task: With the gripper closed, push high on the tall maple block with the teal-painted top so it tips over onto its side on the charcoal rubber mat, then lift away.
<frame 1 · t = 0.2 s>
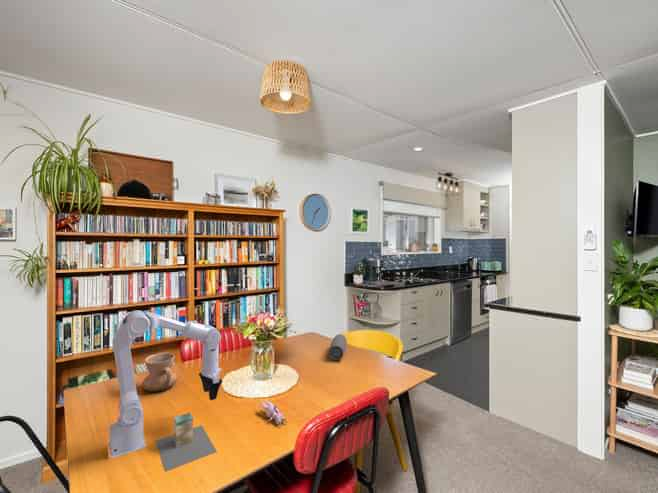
hand: (209, 395, 118), 10 cm above the table, fingers open, 7 cm apart
bluetooth speaker: (338, 355, 190), on the table
maple block: (183, 441, 105), resting on rubber mat
rabbit figure: (273, 418, 121), on the table
ceramic jug: (160, 388, 145), on the table
rubber mat: (185, 447, 103), on the table
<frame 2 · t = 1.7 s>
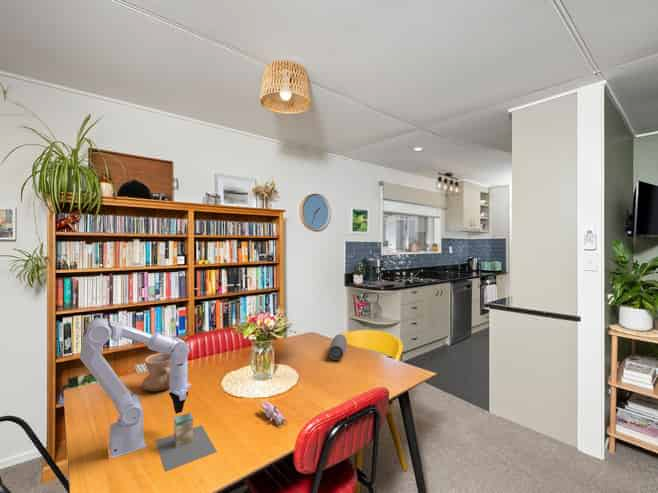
hand: (178, 412, 112), 7 cm above the table, fingers closed
nothing on the table moved.
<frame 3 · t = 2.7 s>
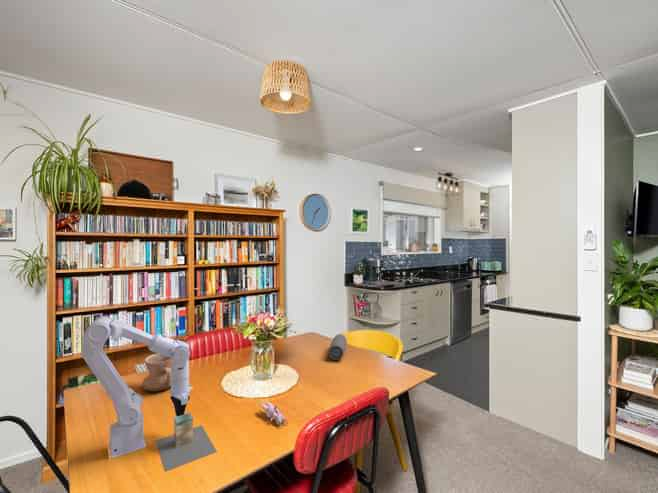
hand: (179, 416, 110), 6 cm above the table, fingers closed
nothing on the table moved.
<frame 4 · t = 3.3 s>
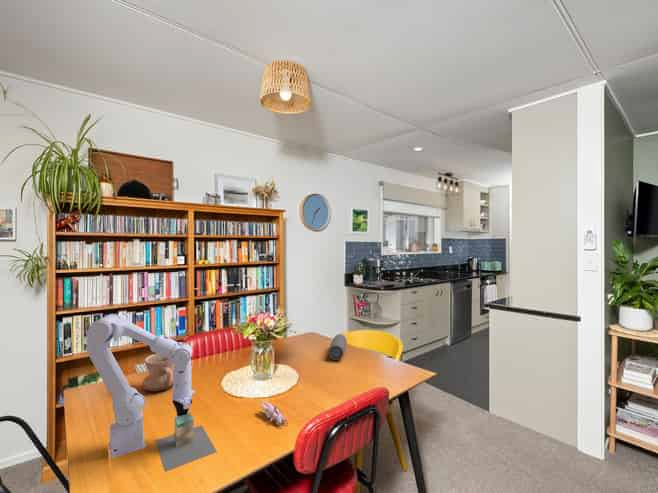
hand: (182, 420, 107), 6 cm above the table, fingers closed
maple block: (183, 440, 105), point 1 cm above the table, tilted 8°, touching gripper, rubber mat
everything else where it was.
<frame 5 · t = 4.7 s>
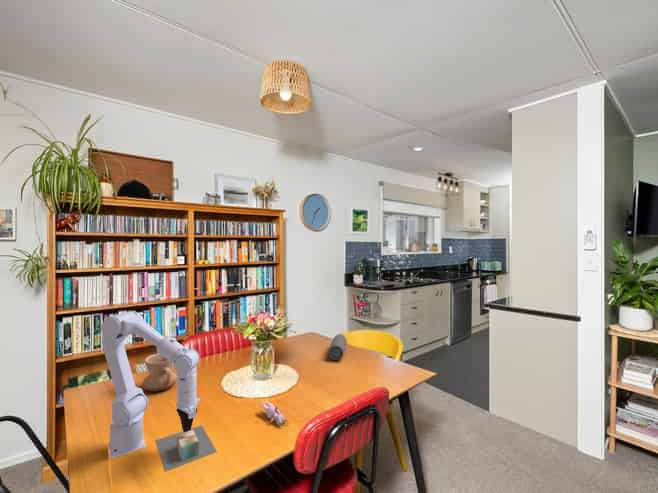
hand: (186, 430, 102), 6 cm above the table, fingers closed
maple block: (184, 438, 104), point 2 cm above the table, tilted 90°, touching rubber mat
everything else where it was.
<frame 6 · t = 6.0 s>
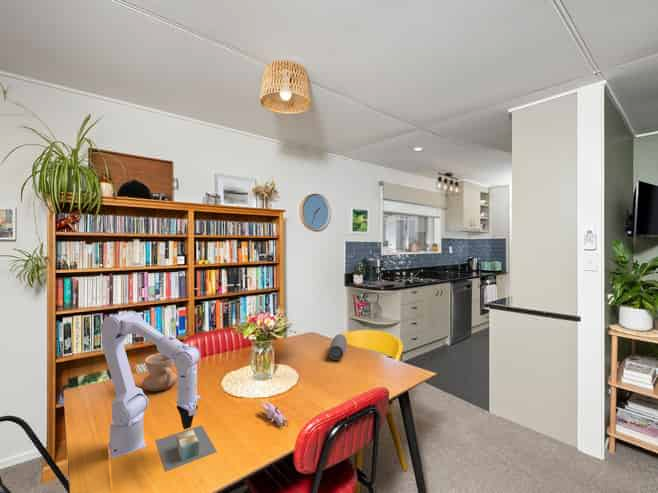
hand: (186, 427, 101), 8 cm above the table, fingers closed
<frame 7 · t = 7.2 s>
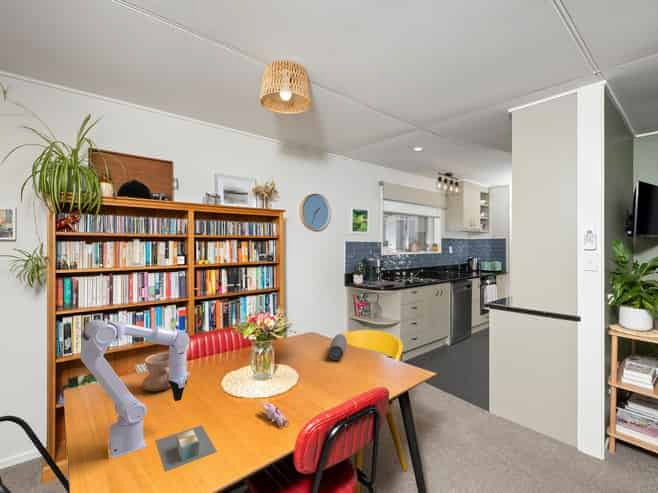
hand: (177, 400, 115), 9 cm above the table, fingers closed
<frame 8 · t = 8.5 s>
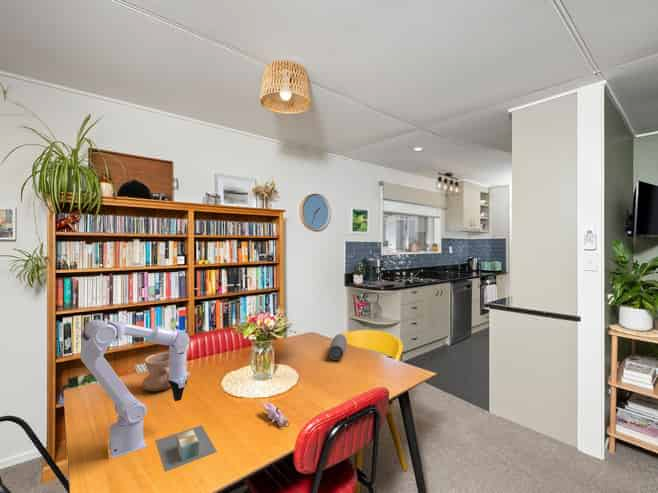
hand: (177, 400, 115), 9 cm above the table, fingers closed
at the end: maple block tilted 90°; maple block inside the target area on the rubber mat (1.0 cm from its centre), point 2.5 cm above the rubber mat's base; the gripper is holding nothing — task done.
